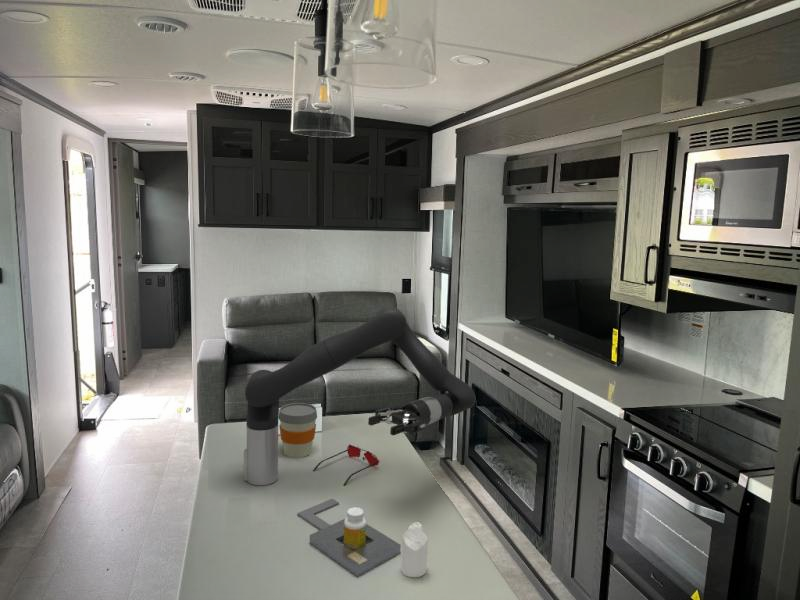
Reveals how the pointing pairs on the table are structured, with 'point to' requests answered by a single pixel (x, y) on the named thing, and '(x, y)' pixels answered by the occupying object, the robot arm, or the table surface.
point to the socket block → (357, 560)
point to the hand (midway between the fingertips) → (380, 426)
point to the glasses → (355, 452)
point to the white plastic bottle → (414, 551)
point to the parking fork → (311, 513)
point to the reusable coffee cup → (297, 428)
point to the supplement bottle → (355, 529)
